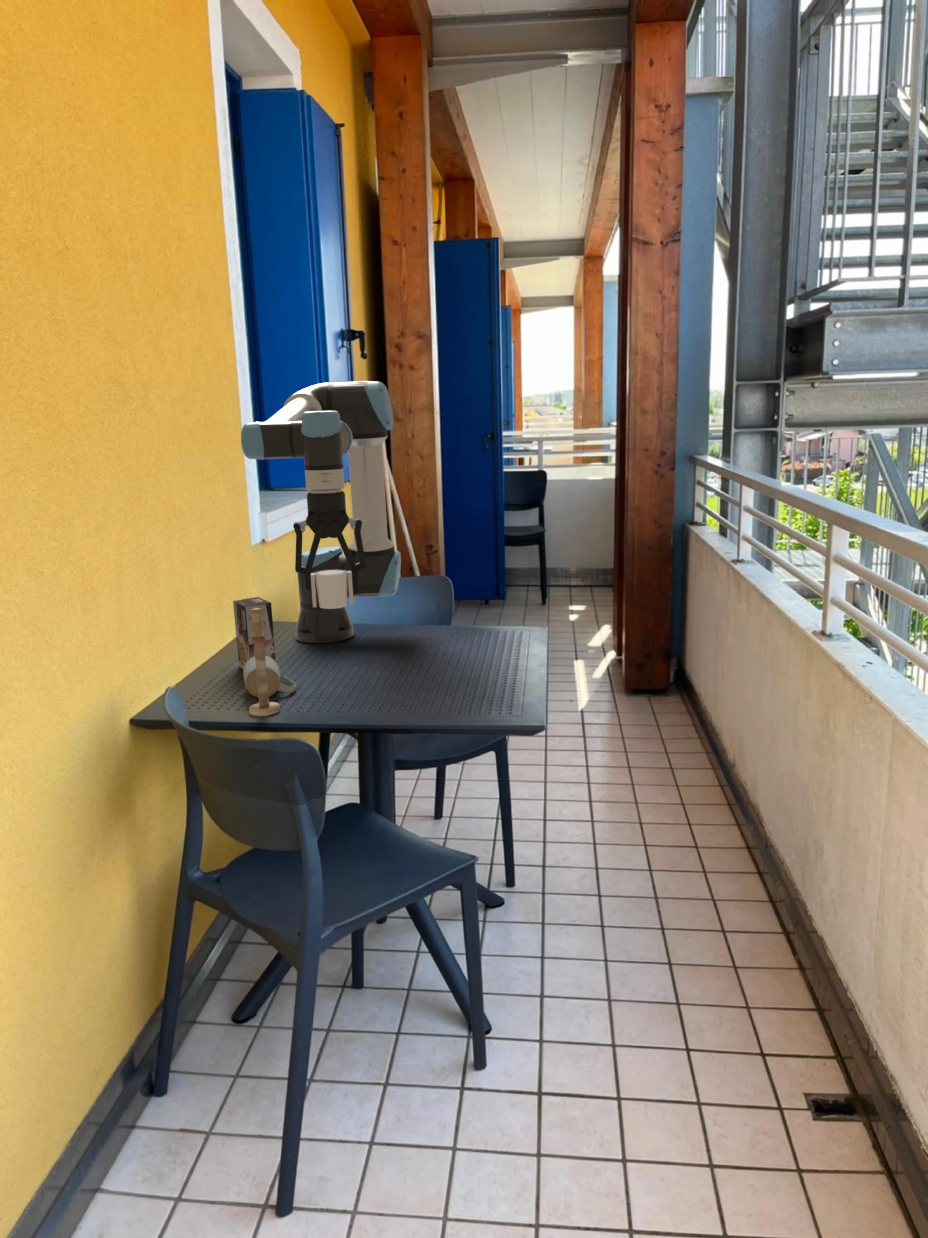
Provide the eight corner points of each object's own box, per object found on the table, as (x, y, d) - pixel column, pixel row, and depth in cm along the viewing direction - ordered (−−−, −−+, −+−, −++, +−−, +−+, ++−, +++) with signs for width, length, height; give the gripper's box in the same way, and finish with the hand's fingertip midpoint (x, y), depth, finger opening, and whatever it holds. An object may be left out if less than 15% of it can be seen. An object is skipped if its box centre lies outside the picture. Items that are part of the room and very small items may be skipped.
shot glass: (345, 600, 190) (343, 567, 188) (353, 607, 184) (351, 573, 182) (312, 604, 188) (310, 570, 186) (320, 611, 181) (317, 576, 180)
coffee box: (277, 670, 211) (272, 602, 207) (250, 675, 208) (244, 606, 204) (264, 661, 218) (258, 595, 215) (238, 666, 215) (232, 599, 211)
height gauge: (250, 707, 185) (241, 607, 180) (280, 705, 186) (272, 605, 181) (248, 717, 179) (239, 613, 175) (279, 715, 180) (271, 611, 175)
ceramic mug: (246, 702, 189) (243, 666, 187) (244, 690, 197) (242, 656, 195) (297, 696, 192) (295, 661, 190) (294, 685, 200) (292, 651, 198)
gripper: (274, 495, 175) (283, 611, 180) (376, 490, 178) (382, 605, 183) (275, 491, 182) (284, 603, 187) (374, 486, 185) (380, 597, 190)
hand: (333, 604), depth 185 cm, fingers closed on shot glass, 7 cm apart
